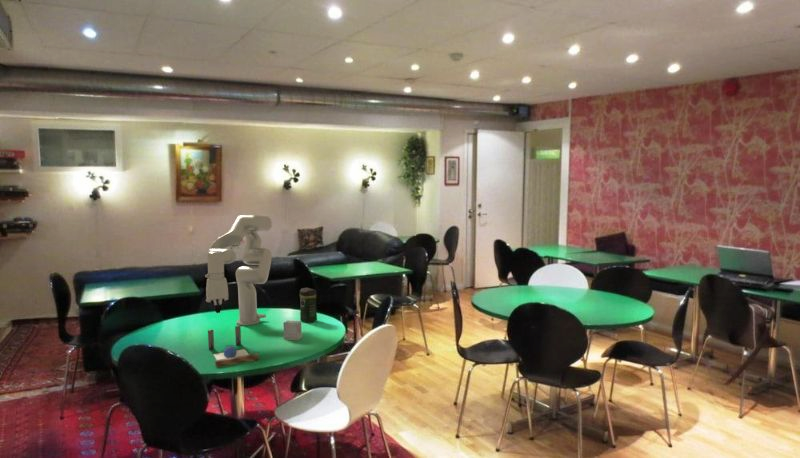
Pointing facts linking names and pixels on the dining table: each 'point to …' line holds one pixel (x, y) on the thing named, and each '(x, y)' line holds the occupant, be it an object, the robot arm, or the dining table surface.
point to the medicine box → (292, 330)
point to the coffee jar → (308, 305)
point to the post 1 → (211, 339)
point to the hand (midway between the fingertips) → (217, 312)
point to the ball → (230, 352)
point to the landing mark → (239, 353)
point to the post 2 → (238, 335)
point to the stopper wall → (236, 360)
